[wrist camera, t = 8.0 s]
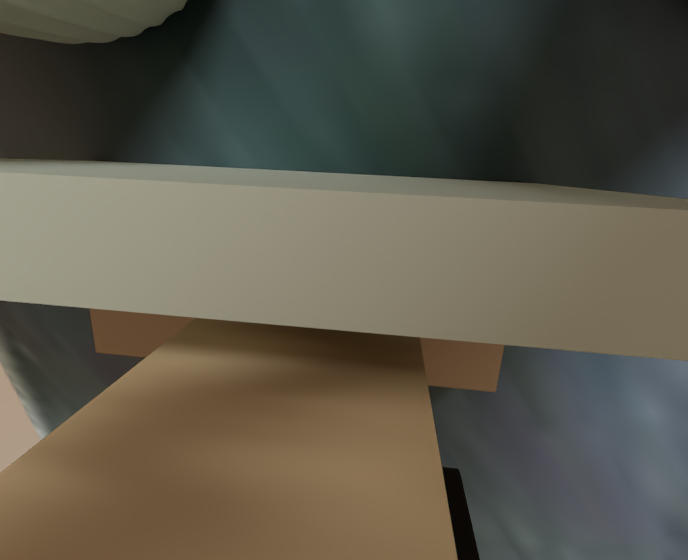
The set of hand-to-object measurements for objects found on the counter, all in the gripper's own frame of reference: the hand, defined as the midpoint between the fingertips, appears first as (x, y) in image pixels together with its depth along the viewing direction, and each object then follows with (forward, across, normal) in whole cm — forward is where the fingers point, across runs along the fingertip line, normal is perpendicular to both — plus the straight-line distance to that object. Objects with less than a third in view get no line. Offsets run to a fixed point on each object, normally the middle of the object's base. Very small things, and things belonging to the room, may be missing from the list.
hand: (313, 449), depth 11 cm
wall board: (+8, +2, -3) cm, 9 cm away
